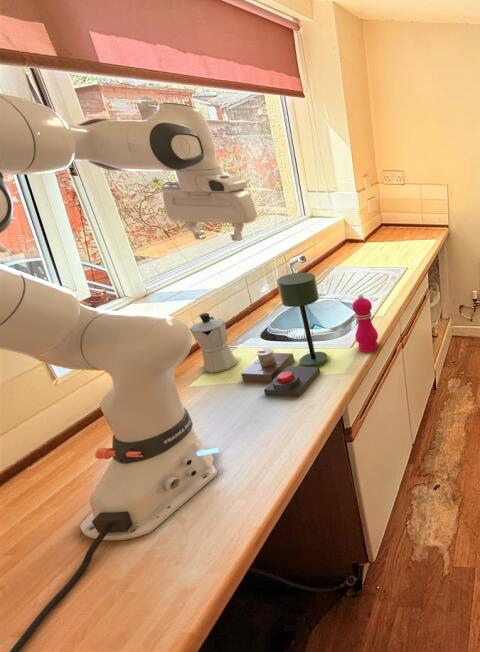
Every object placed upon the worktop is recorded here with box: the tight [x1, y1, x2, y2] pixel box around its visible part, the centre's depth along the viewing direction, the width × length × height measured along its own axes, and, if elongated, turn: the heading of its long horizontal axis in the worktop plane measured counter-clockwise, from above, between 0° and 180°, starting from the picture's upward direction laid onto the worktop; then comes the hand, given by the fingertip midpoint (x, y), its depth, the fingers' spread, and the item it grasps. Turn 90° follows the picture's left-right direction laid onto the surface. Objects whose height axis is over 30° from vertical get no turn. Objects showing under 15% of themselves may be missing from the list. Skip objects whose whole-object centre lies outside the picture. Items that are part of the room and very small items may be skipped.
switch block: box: [263, 365, 321, 398], centre depth 117 cm, size 12×10×4 cm
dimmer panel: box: [240, 352, 295, 384], centre depth 123 cm, size 12×9×3 cm
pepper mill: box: [351, 294, 379, 354], centre depth 134 cm, size 7×7×20 cm
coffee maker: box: [189, 312, 237, 374], centre depth 124 cm, size 15×9×18 cm, turn 34°
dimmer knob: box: [256, 348, 275, 366], centre depth 122 cm, size 4×4×4 cm
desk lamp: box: [276, 272, 329, 368], centre depth 123 cm, size 10×10×29 cm
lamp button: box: [278, 371, 293, 383], centre depth 113 cm, size 4×4×2 cm
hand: (219, 239), depth 98 cm, fingers open, 8 cm apart
